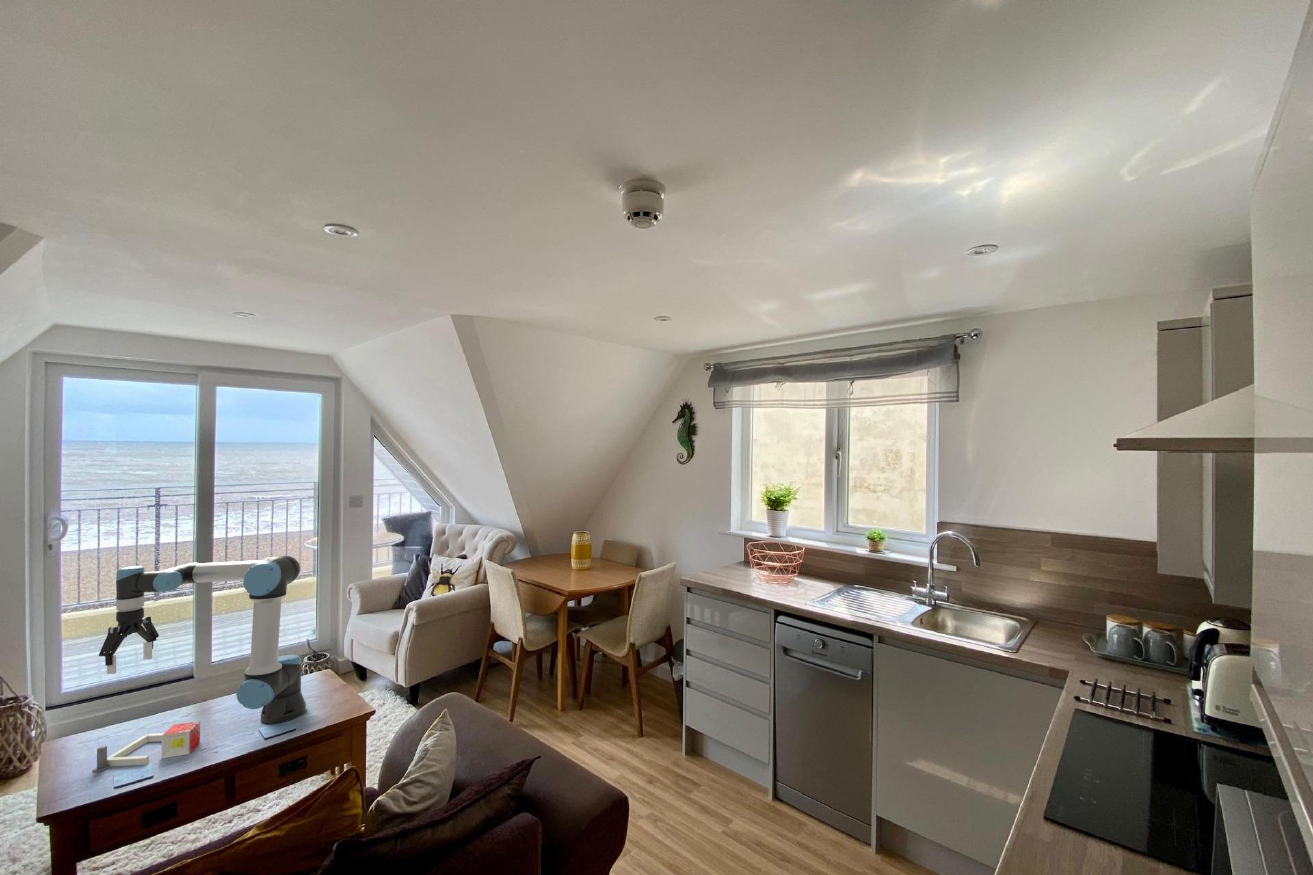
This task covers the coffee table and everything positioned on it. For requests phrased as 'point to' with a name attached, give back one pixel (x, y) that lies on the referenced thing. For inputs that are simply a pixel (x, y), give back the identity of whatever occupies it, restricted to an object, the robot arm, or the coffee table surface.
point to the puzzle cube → (180, 739)
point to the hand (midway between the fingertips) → (130, 666)
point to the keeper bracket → (119, 758)
